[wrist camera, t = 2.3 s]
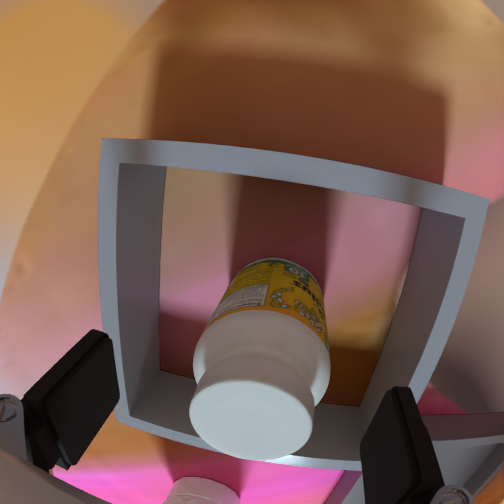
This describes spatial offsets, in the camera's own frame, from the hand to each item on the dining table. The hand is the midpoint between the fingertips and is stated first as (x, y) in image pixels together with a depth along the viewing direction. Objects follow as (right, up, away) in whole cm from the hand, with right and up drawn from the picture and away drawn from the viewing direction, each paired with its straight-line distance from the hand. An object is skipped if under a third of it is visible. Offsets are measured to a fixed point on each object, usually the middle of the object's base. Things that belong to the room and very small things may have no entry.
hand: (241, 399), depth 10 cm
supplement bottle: (+2, +2, +9) cm, 9 cm away
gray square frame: (+2, +2, +8) cm, 9 cm away
